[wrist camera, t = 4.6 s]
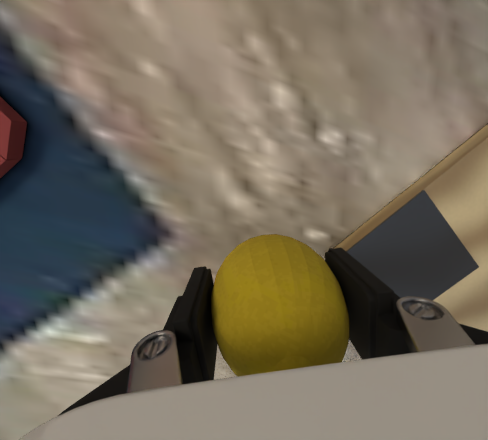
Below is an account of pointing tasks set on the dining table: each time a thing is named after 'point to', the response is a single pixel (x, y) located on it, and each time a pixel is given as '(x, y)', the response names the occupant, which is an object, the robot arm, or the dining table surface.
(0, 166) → the red sloped ramp
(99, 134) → the dining table surface
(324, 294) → the lemon
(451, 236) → the board
